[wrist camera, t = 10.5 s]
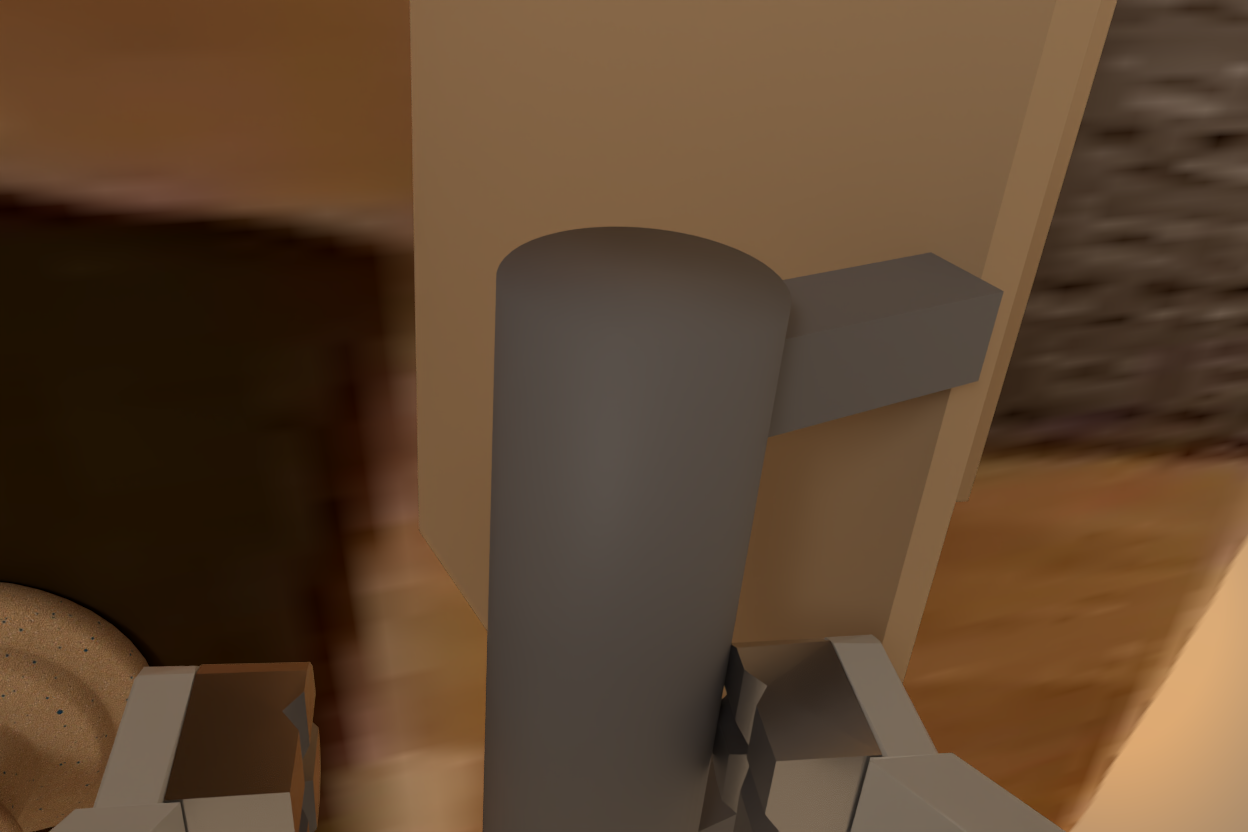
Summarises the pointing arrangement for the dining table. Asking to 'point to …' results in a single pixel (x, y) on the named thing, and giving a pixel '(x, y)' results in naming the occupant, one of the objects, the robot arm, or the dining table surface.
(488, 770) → the cardboard box lid
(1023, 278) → the carton
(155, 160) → the dining table surface
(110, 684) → the candle holder
